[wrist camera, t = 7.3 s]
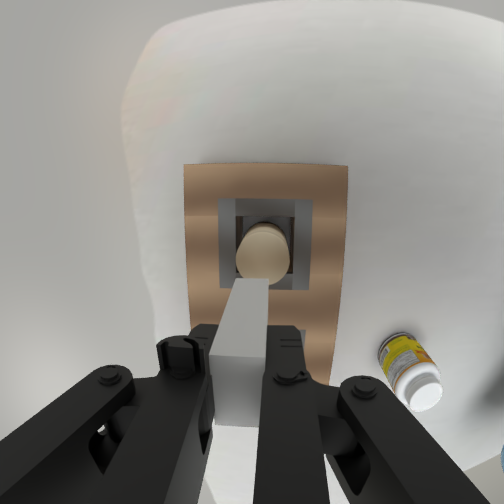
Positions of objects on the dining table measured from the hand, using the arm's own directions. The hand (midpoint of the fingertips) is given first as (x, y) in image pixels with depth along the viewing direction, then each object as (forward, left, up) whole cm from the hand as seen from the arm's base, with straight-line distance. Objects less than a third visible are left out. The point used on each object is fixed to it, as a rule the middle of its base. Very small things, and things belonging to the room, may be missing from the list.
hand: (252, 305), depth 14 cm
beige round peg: (0, 0, -14) cm, 14 cm away
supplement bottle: (-2, +22, -19) cm, 29 cm away
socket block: (+4, +4, -19) cm, 20 cm away
